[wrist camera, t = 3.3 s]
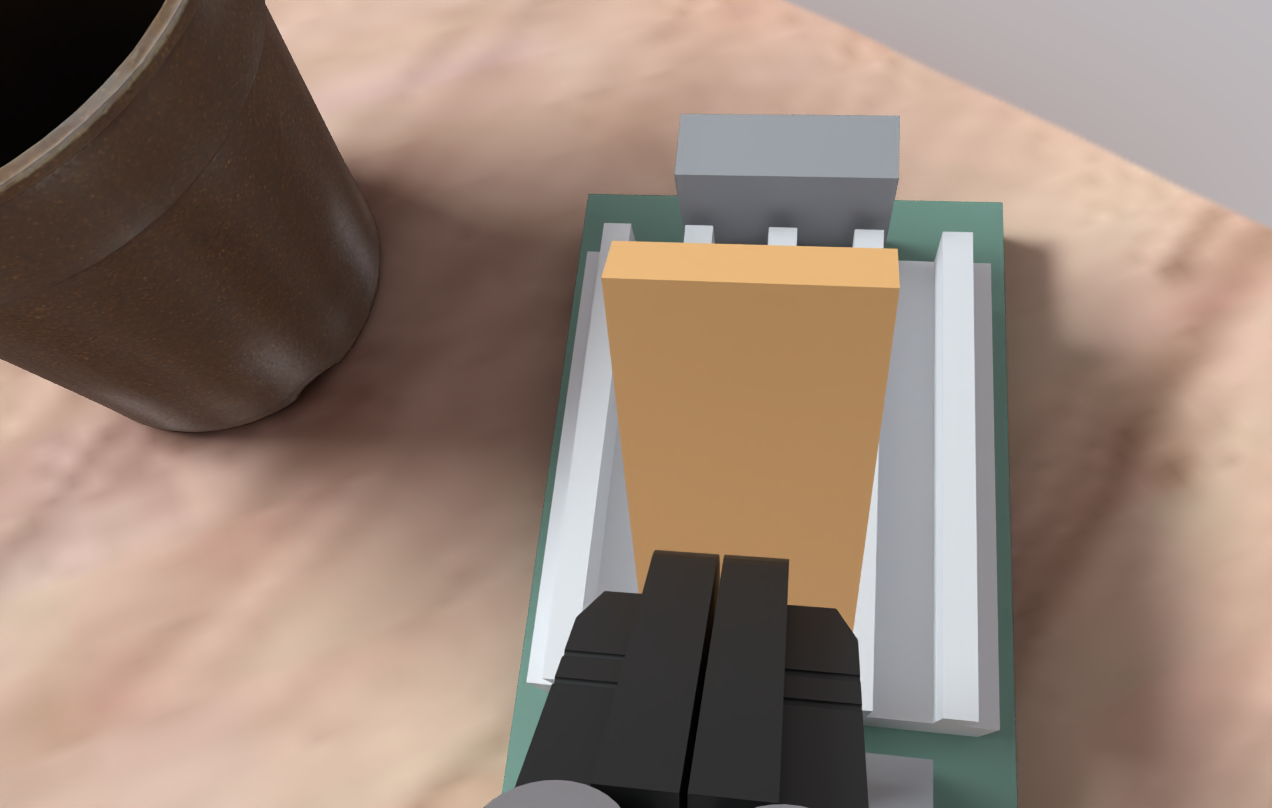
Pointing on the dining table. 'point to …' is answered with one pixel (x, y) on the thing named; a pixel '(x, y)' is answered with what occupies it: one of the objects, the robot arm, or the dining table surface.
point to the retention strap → (752, 402)
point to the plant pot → (172, 211)
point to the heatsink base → (906, 459)
